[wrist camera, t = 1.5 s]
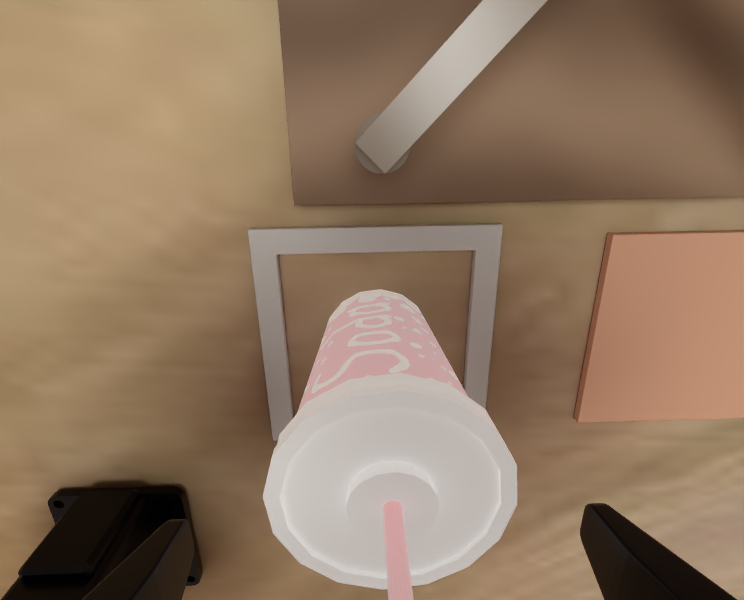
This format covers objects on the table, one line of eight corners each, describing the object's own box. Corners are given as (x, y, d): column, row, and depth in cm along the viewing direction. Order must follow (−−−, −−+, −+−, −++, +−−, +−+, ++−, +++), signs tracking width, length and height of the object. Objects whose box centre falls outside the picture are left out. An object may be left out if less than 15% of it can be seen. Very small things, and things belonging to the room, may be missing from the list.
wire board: (799, 191, 17) (1032, 215, 11) (298, 201, 16) (264, 230, 10) (921, -175, 13) (1381, -440, 7) (270, -176, 12) (192, -456, 7)
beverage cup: (454, 276, 17) (749, 673, 4) (436, 400, 19) (596, 921, 6) (308, 267, 17) (138, 667, 4) (306, 394, 19) (192, 930, 6)
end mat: (755, 411, 20) (763, 416, 20) (573, 417, 20) (577, 422, 20) (822, 228, 17) (832, 230, 17) (607, 233, 17) (613, 234, 17)
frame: (480, 428, 20) (483, 434, 20) (274, 435, 20) (273, 440, 20) (499, 223, 17) (502, 224, 16) (250, 227, 16) (247, 229, 16)
